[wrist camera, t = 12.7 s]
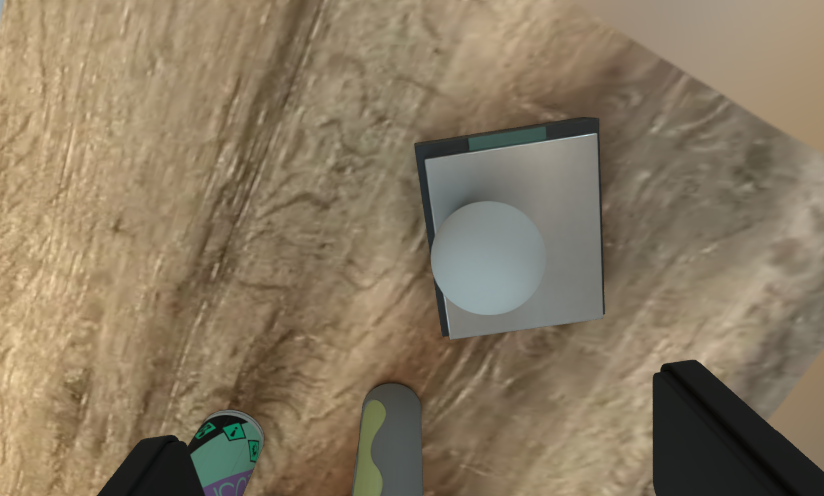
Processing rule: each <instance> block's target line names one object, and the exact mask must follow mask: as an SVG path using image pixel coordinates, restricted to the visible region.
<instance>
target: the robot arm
mask: <svg viewBox="0 0 824 496" xmlns="http://www.w3.org/2000/svg"><path fill="white" fill-rule="evenodd" d="M653 486H654V490H655V493H656V496H824V472H823V471H822V470H821V469H820V468H819V467H818V466H817V465H815V464H814V463H813V462H812V461H811V460H809V458H808V457H806V456H805V455H804V454H803V453H802V452H801V451H799V449H797V448H796V447H795V446H794V445H793V444H792V443H791V442H790V441H788V440H787V439H786V438H785V437H784V436H783V435H782V434H780V433H779V432H778V431H776V430H775V429H774V428H773V427H771V426H770V425H769V424H768V423H767V422H766V421H765V420H764V419H763V418H761V417H760V416H759V415H758V414H757V413H756V412H755V411H754V410H752V409H751V408H750V407H749V406H748V405H747V404H746V403H745V402H743V401H742V400H741V399H740V398H739V397H738V396H737V395H736V394H734V393H733V392H732V391H731V390H730V389H729V388H728V387H727V386H725V385H724V384H723V383H722V382H721V381H720V380H719V379H718V378H717V377H715V376H714V375H713V374H712V373H711V372H710V371H709V370H708V369H706V368H705V367H704V366H703V365H702V364H701V363H699V362H698V361H696V360H687V361H680V362H673V363H666V364H663V365H662V367H661V370H660V372H658V373H655V374H654V376H653ZM97 496H205V493H204V490H203V488H202V485H201V482H200V479H199V477H198V474H197V471H196V469H195V466H194V463H193V460H192V458H191V455H190V452H189V450H188V447H187V445H186V443H185V442H183V441H179V440H178V438H177V437H176V436H174V435H167V436H160V437H153V438H146V439H143V440H141V441H140V442H139V443H138V444H137V445H136V446H135V447H134V449H133V450H132V451H131V453H130V454H129V455H128V456H127V458H126V459H125V460H124V462H123V463H122V464H121V465H120V467H119V468H118V469H117V471H116V472H115V473H114V474H113V476H112V477H111V478H110V480H109V481H108V482H107V483H106V485H105V486H104V487H103V489H102V490H101V491H100V492H99V494H98V495H97Z"/></svg>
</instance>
